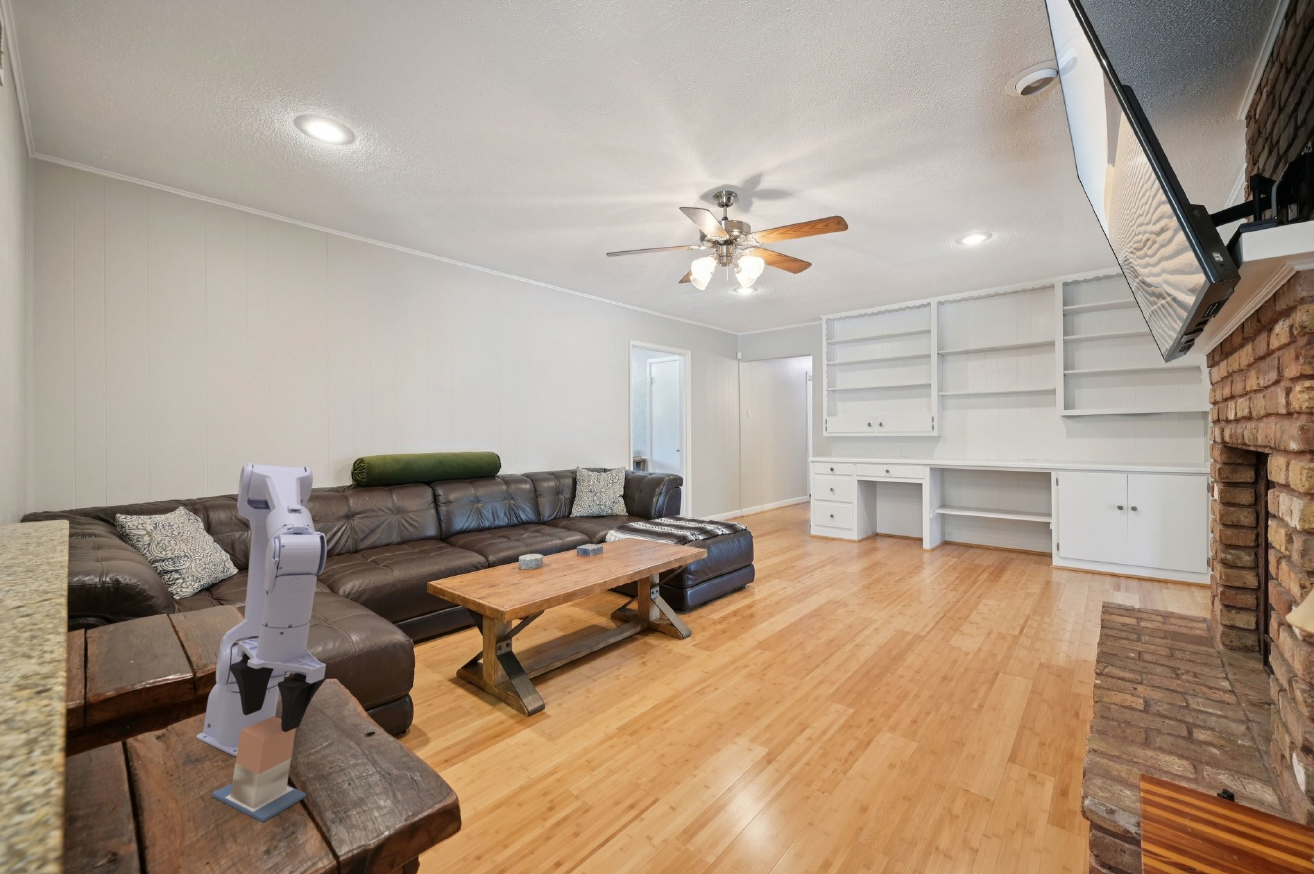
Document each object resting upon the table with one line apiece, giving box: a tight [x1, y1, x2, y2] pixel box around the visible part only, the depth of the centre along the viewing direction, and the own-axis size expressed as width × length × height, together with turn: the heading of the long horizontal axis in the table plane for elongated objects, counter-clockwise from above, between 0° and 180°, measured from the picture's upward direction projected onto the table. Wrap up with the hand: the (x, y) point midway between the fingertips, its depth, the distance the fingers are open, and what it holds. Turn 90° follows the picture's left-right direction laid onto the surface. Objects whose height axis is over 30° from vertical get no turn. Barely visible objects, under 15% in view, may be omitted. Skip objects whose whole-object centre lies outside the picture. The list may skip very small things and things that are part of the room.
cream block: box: [230, 757, 292, 808], centre depth 75 cm, size 4×4×4 cm
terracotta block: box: [235, 715, 297, 774], centre depth 75 cm, size 4×4×4 cm
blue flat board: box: [211, 782, 307, 823], centre depth 75 cm, size 10×6×1 cm, turn 70°
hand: (271, 720), depth 76 cm, fingers open, 7 cm apart
